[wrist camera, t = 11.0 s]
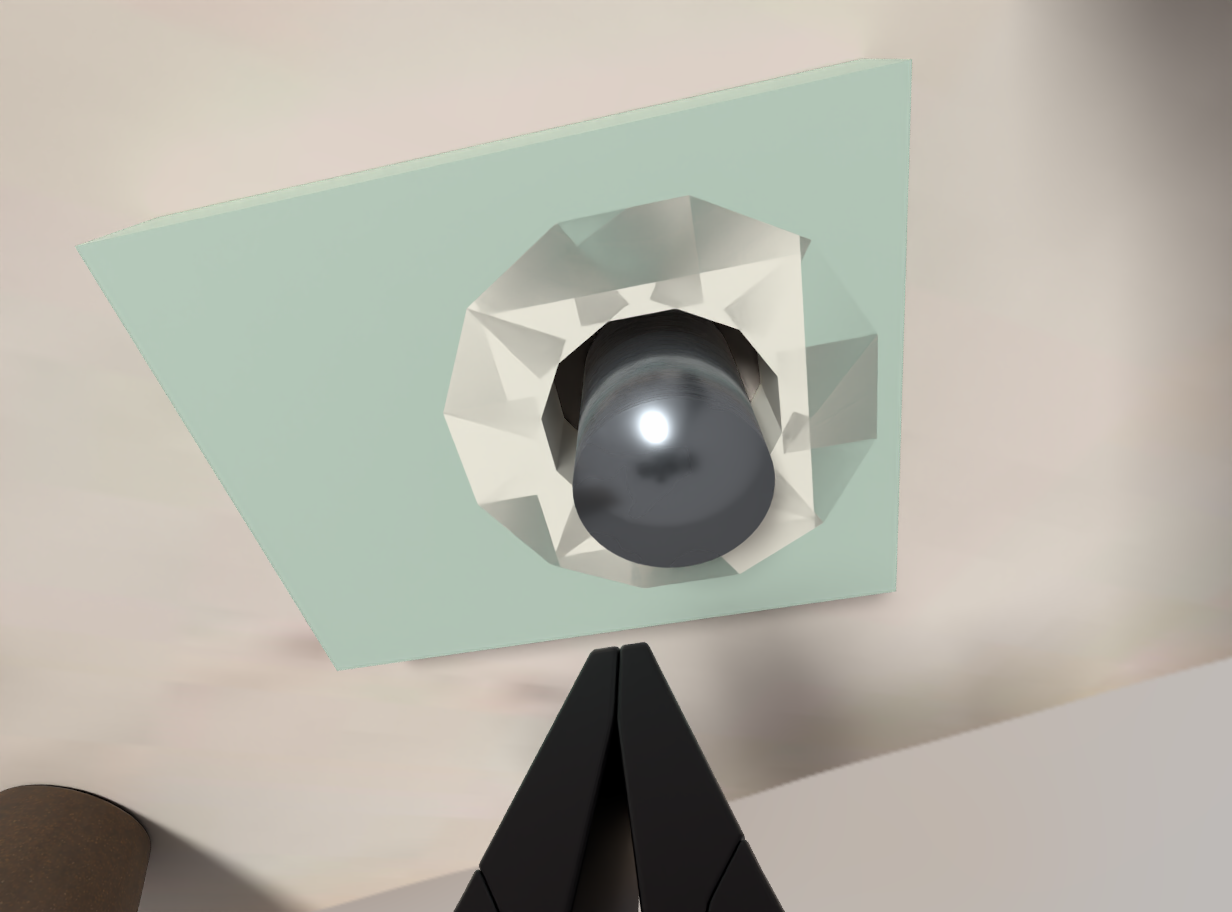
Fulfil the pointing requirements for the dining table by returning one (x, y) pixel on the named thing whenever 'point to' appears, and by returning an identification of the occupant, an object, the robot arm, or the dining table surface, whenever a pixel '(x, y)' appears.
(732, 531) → the dark metal cylinder
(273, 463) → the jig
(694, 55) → the dining table surface
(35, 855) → the plant pot
